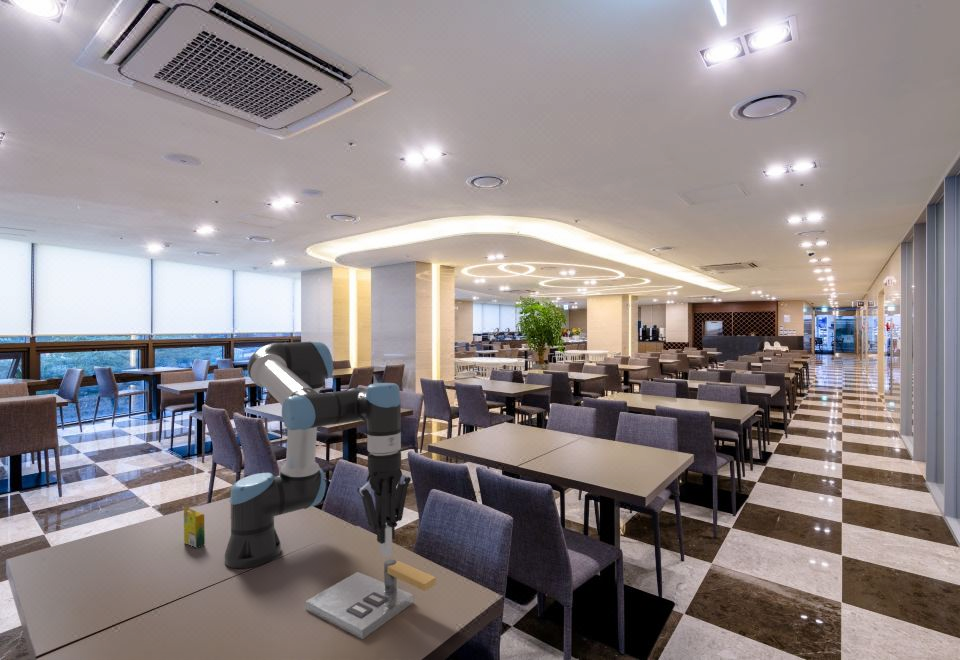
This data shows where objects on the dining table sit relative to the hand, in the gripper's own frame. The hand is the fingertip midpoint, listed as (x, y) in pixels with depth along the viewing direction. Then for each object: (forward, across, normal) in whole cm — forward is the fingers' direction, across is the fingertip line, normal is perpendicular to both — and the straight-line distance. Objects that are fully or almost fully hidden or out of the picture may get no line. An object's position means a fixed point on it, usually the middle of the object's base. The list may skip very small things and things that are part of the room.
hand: (386, 555), depth 104 cm
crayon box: (+16, -22, +79) cm, 83 cm away
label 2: (+14, +1, +7) cm, 15 cm away
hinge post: (+16, +6, +8) cm, 19 cm away
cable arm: (+8, +7, +2) cm, 11 cm away
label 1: (+14, -4, +6) cm, 15 cm away
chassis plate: (+16, -1, +11) cm, 19 cm away
